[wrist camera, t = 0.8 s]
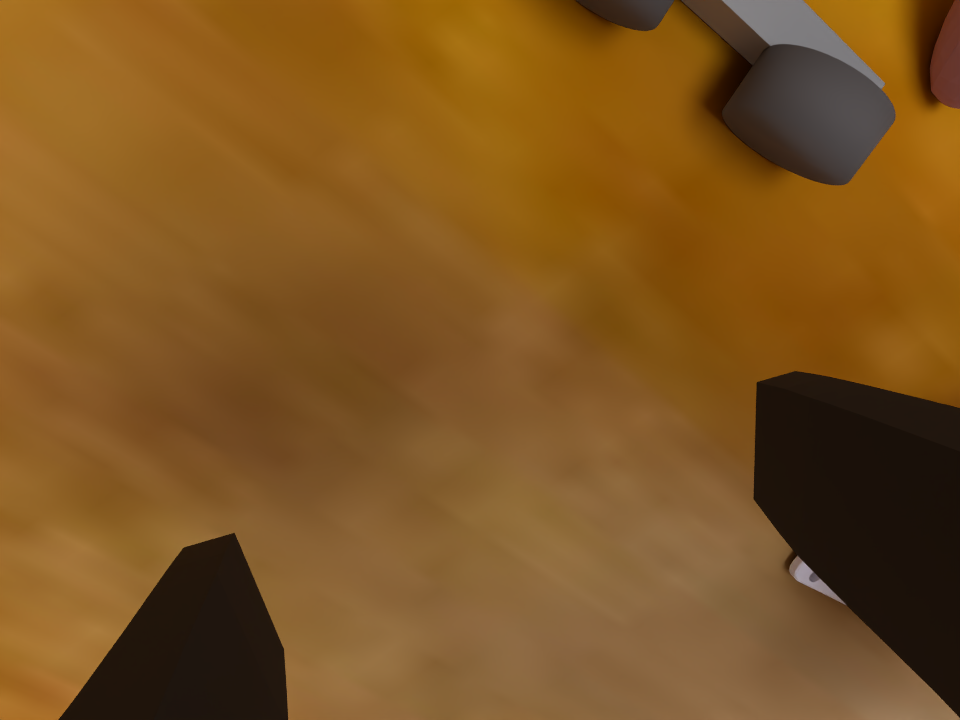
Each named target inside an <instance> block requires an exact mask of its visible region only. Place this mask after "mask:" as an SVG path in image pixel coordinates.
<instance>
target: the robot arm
mask: <svg viewBox="0 0 960 720" xmlns="http://www.w3.org/2000/svg"><path fill="white" fill-rule="evenodd" d="M754 500H755V502H756V503H757V504H758V506H759V507H760V508H761V510H762V511H763V512H764V514H765V515H766V516H767V518H768V519H769V520H770V521H771V523H772V524H773V525H774V527H775V528H776V529H777V531H778V532H779V533H780V535H781V536H782V537H783V538H784V539H785V541H786V542H787V543H788V544H789V546H790V547H791V548H792V549H793V551H794V552H795V553H796V554H797V555H798V556H797V557H796V558H795V559H794V560H793V562H792V563H791V565H790V569H789V571H790V574H791V575H792V576H793V577H794V578H795V579H796V580H797V581H798V582H800V583H802V584H804V585H806V586H808V587H810V588H813V589H815V590H817V591H819V592H821V593H823V594H825V595H827V596H829V597H831V598H833V599H835V600H837V601H839V602H841V603H843V604H845V605H847V606H848V607H849V608H850V609H851V610H852V611H853V612H854V613H855V614H856V615H857V616H858V617H859V618H860V619H861V620H862V621H863V622H864V623H865V624H866V625H867V626H868V627H869V628H870V629H871V630H873V631H874V632H875V633H876V634H877V635H878V636H879V637H880V638H881V639H882V640H883V641H884V642H885V643H886V644H887V645H888V646H889V647H890V648H891V649H892V650H893V651H894V652H895V653H896V654H897V655H898V656H899V657H900V658H901V659H902V660H903V661H904V662H905V663H906V664H907V665H908V666H909V667H910V668H911V669H912V670H913V671H914V672H915V673H916V674H917V675H918V676H919V677H920V678H921V679H923V680H924V681H925V682H926V683H927V684H928V685H929V686H930V687H931V688H932V689H933V690H934V691H935V692H936V693H937V694H938V695H939V696H940V697H941V699H942V700H943V701H944V702H945V703H946V704H947V705H948V706H949V707H950V708H951V709H952V710H953V711H954V712H955V713H956V714H957V715H958V716H959V717H960V408H957V407H953V406H949V405H945V404H941V403H937V402H933V401H929V400H925V399H921V398H917V397H912V396H908V395H904V394H900V393H896V392H892V391H888V390H884V389H880V388H876V387H872V386H867V385H863V384H859V383H854V382H850V381H846V380H841V379H837V378H832V377H827V376H822V375H816V374H811V373H804V372H797V371H794V372H791V373H787V374H784V375H780V376H777V377H773V378H770V379H766V380H763V381H760V382H757V392H756V429H755V466H754ZM59 720H288V708H287V688H286V674H285V659H284V648H283V646H282V644H281V641H280V639H279V637H278V634H277V632H276V630H275V627H274V625H273V622H272V620H271V618H270V615H269V613H268V611H267V608H266V606H265V604H264V601H263V599H262V597H261V594H260V592H259V589H258V587H257V585H256V582H255V580H254V578H253V575H252V573H251V571H250V568H249V566H248V563H247V561H246V559H245V556H244V554H243V552H242V549H241V547H240V545H239V542H238V540H237V538H236V535H235V533H233V534H229V535H226V536H222V537H219V538H215V539H212V540H208V541H205V542H201V543H198V544H194V545H191V546H188V547H184V548H183V549H182V551H181V552H180V553H179V554H178V556H177V557H176V558H175V560H174V561H173V562H172V564H171V565H170V567H169V568H168V569H167V571H166V572H165V574H164V575H163V576H162V578H161V579H160V581H159V582H158V583H157V585H156V586H155V588H154V589H153V591H152V592H151V593H150V595H149V596H148V598H147V599H146V600H145V602H144V603H143V605H142V606H141V608H140V609H139V610H138V612H137V613H136V615H135V616H134V618H133V619H132V620H131V622H130V623H129V625H128V626H127V627H126V629H125V630H124V632H123V633H122V634H121V636H120V637H119V639H118V640H117V641H116V643H115V644H114V645H113V647H112V648H111V650H110V651H109V652H108V654H107V655H106V656H105V658H104V659H103V661H102V662H101V663H100V665H99V666H98V667H97V669H96V670H95V672H94V673H93V674H92V676H91V677H90V679H89V680H88V681H87V683H86V684H85V685H84V687H83V688H82V690H81V691H80V692H79V694H78V695H77V696H76V698H75V699H74V700H73V702H72V703H71V704H70V706H69V707H68V708H67V710H66V711H65V712H64V713H63V715H62V716H61V717H60V718H59Z"/></svg>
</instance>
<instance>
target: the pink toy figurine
mask: <svg viewBox="0 0 960 720" xmlns="http://www.w3.org/2000/svg"><path fill="white" fill-rule="evenodd" d="M930 81H931V91H932V93H933V94H934V95H935V96H936V97H937V98H938V100H939V101H940V102H941V103H943V104H945V105H947V106H949V107H952V108H958V109H960V0H955V1H954V2H953V4H952V6H951V8H950V10H949V12H948V14H947V16H946V18H945V20H944V23H943V26H942V28H941V31H940V34H939V36H938V39H937V41H936V44H935V47H934V50H933V55H932V60H931V64H930Z"/></svg>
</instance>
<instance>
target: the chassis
mask: <svg viewBox="0 0 960 720" xmlns="http://www.w3.org/2000/svg"><path fill="white" fill-rule="evenodd" d="M576 1H577V2H579V3H580V4H581V5H583V6H584V7H586V8H587V9H589V10H591V11H592V12H594V13H596V14H597V15H599V16H601V17H603V18H605V19H607V20H609V21H611V22H613V23H615V24H618V25H620V26H623V27H626V28H630V29H634V30H639V31H648V30H652V29H655V28H656V27H657V26H658V25H659V23H660V22H661V20H662V19H663V17H664V15H665V14H666V12H667V11H668V9H669V8H670V6H671V4H672V3H673V1H674V0H576ZM681 1H682V2H684V3H685V4H686V5H687V6H688V7H689V8H690V9H691V10H692V11H693V12H694V13H696V14H697V15H698V16H699V17H700V18H701V19H702V20H703V21H704V22H705V23H707V24H708V25H709V26H710V27H711V28H712V29H713V30H714V31H715V32H716V33H718V34H719V35H720V36H721V37H722V38H723V39H724V40H725V41H726V42H727V43H728V44H730V45H731V46H732V47H733V48H734V49H735V50H736V51H737V52H738V53H739V54H741V55H742V56H743V57H744V58H745V59H746V60H747V61H748V62H749V63H750V64H752V65H753V66H752V67H751V69H750V70H749V72H748V73H747V75H746V76H745V78H744V79H743V81H742V82H741V84H740V85H739V87H738V88H737V89H736V91H735V92H734V94H733V95H732V97H731V98H730V100H729V101H728V103H727V104H726V106H725V107H724V109H723V110H722V116H723V119H724V121H725V123H726V124H727V126H728V127H729V128H730V129H731V131H732V132H733V133H734V134H735V135H736V136H737V137H738V138H739V139H741V140H742V141H743V142H744V143H745V144H747V145H748V146H749V147H750V148H752V149H753V150H755V151H756V152H757V153H759V154H760V155H762V156H763V157H765V158H767V159H768V160H770V161H772V162H773V163H775V164H777V165H779V166H781V167H782V168H784V169H786V170H788V171H791V172H793V173H795V174H797V175H800V176H802V177H805V178H807V179H810V180H813V181H816V182H820V183H824V184H829V185H844V184H847V183H848V182H849V181H850V180H851V179H852V177H853V176H854V175H855V173H856V172H857V171H858V169H859V168H860V167H861V165H862V164H863V163H864V161H865V160H866V159H867V157H868V156H869V155H870V153H871V152H872V151H873V149H874V148H875V147H876V145H877V144H878V143H879V141H880V140H881V139H882V137H883V136H884V135H885V133H886V132H887V131H888V129H889V128H890V126H891V125H892V124H893V122H894V120H895V110H894V107H893V105H892V103H891V101H890V100H889V98H888V97H887V96H886V94H885V93H884V92H883V91H882V90H881V89H882V88H883V86H884V85H885V83H884V82H883V81H882V80H881V79H880V78H879V77H878V76H877V75H876V74H875V73H874V72H873V71H872V70H871V69H870V68H869V67H868V66H867V65H866V64H865V63H864V62H863V61H862V60H861V59H860V58H859V57H858V56H857V55H856V54H855V53H854V52H853V51H852V50H851V49H850V48H849V47H848V46H847V45H846V44H845V43H844V42H843V41H842V40H841V39H840V38H839V37H838V36H837V35H836V33H835V32H834V31H833V30H832V29H831V28H830V27H829V26H828V25H827V24H826V23H825V22H824V21H823V20H822V19H821V18H820V17H819V16H818V15H817V14H816V13H815V12H814V11H813V10H812V9H811V8H810V7H809V6H808V5H807V4H806V3H805V2H804V1H803V0H681Z"/></svg>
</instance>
